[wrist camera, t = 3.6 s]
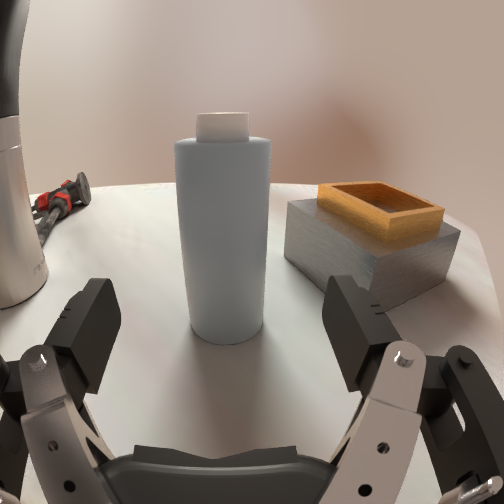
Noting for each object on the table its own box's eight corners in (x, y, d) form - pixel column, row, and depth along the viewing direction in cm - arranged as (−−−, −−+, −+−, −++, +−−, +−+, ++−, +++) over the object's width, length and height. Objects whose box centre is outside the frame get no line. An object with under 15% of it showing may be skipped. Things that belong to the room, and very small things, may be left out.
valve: (39, 213, 49) (97, 192, 53) (-4, 283, 29) (73, 254, 32) (29, 187, 46) (89, 163, 49) (-24, 246, 25) (55, 211, 29)
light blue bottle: (202, 353, 18) (184, 115, 12) (183, 306, 23) (166, 115, 16) (275, 331, 21) (291, 115, 14) (245, 291, 25) (248, 112, 18)
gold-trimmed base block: (358, 324, 21) (383, 230, 17) (283, 255, 31) (289, 181, 27) (450, 277, 27) (470, 211, 23) (380, 234, 36) (391, 177, 33)
